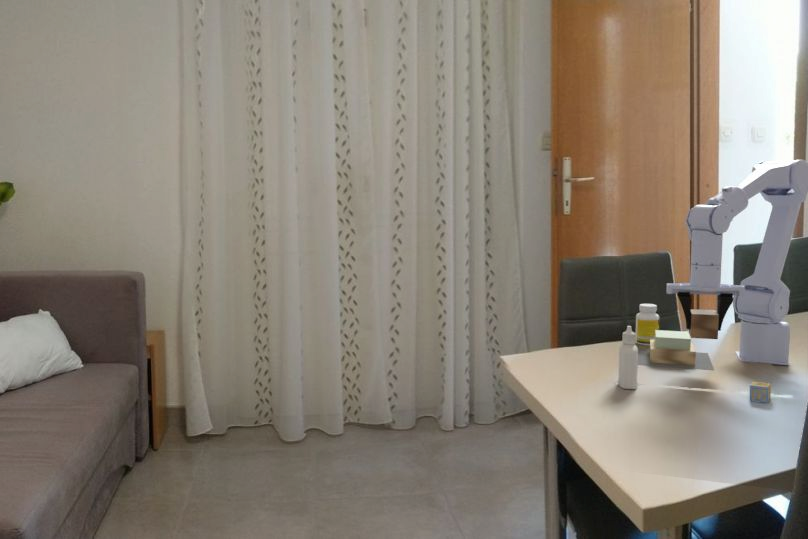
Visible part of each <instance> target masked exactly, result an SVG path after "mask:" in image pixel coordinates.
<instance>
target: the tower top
mask: <svg viewBox="0 0 808 539" xmlns="http://www.w3.org/2000/svg"><path fill="white" fill-rule="evenodd" d="M691 342H692V338H691V337H690V334H689V331H682V330H680V331H679V330H661V329H659V330H655V347H656V348H660V349H676V350H690V347H691Z"/></svg>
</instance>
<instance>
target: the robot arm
mask: <svg viewBox="0 0 808 539" xmlns="http://www.w3.org/2000/svg"><path fill="white" fill-rule="evenodd" d="M758 194H760V195H761V197H762V198H763V199H764V200H765V201H766V202H768V203H770V204H771V206H772V207H771V211H770V214H769V219H768V222H767V226H766V229H765V233H764V236H763V240H762V244H761V247H760V250H759V253H758V257H757V258H758V259H757V261H756V265H755V268H754V272H753V274H751V275H750V276H748V277H746V278H744V279H743V280H741V281H740V284H739V285H737V284H728V283H727V284H725V283H721V282H722V281H721V280H722V258H723V257H722V256H723V237H724V236H723V234H724V233H726V232H727V231H728V229H729V228H730V226H731V223H732V222H733V219H734V218H735V217H736V216H738V215H739V214H740V213H741V212H743V211H744V210H746V208H747V207H748V206H749V200H750V199H751V198H753V197H755V196H756V195H758ZM807 196H808V162H807V160H805V159H796V160H776V161H775V160H771V161H767V160H761V161H759V162H757V163H756V164H755V165H753V166H752V170H751V173H750V174H749V175H748V176H747V177H745V178H744V180H742V181H741V182H740V183H739V184H738V185H736V186H734V185H731V186H730V185H729V186H728V185H727V186H724V187H722V188H721V191H720V192H719V193H717V194H716V195H714V196H713V197H710V198H709V199H708V201H706V202H705V203H704V204H696V205H694V206H693V207H692V208H691V209H689V211H688V212H687V215H686V218H685V226H686V229H687V230H688V239H689V241H691V244H690V247H691V248H690V249H691V250H690V275H689V282H682V283H680V282H679V283H678V282H677V283H676V282H675V283H674V282H673V283H672V282H671V283H670V282H668V283H666V294H668V295H673V294H676V295H677V298H678V300H679V302H680V305H681V308H682V310H683V314H684V318H685V327H686V330H689V329H691V309H692V295H711V296H714V295H715V296H716V307H717V308H716V311H717V313H718V315H719V323H718V332H720V331H722V326H723V322H724V319H725V317H726V314H727V313H728V311H729V308H730V307H731V306H732V308H733V310H734V312H735V314H737V319H740V334H739V335H740V336H739V337H740V338H739V350H737V351H735V355H736V356H737V358H738V360H739V361H740V362H748V363H749V362H750V363H751V362H753V363H765V364H771V365H781V366H789V365H790V363H789V357H790V356H789V355H790V338H791V328H790V324H789V322H787V321H783V320H784V319H785V318H786V317H787V315H788V312H789V310H790V295H791V294H790V293H791V290H790V289H789V288H788V286H787V284H785V282H783V281H782V280H781V278H782V275H783V274H782V273H783V270H784V267H785V262H786V259H787V256H788V253H789V248H790V245H791V242H792V237H793V234H794V230H795V227H796V224H797V220H798V217H799V212H800V209H801V206H802V203H804V202H805V201H806V200H807Z"/></svg>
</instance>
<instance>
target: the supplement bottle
mask: <svg viewBox="0 0 808 539" xmlns="http://www.w3.org/2000/svg"><path fill="white" fill-rule="evenodd" d="M657 311H658V305H657V304H654V303H640V304H639V312H638V313H636V315H635V332H634V333H635V334H636V339H635V344H639V345H644V346H650V339H652V340H655V330H660V315H659V314H658V313H656V312H657Z"/></svg>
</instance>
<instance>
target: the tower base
mask: <svg viewBox="0 0 808 539" xmlns="http://www.w3.org/2000/svg"><path fill="white" fill-rule="evenodd" d="M649 349H650V362H651V363H666V364H680V365H695V358H696V352H697V351H696V348H695V346H694V343H693V341H691V347H690V350H676V349H660V348H656V347H655V340H652V339H650V345H649Z"/></svg>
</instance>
